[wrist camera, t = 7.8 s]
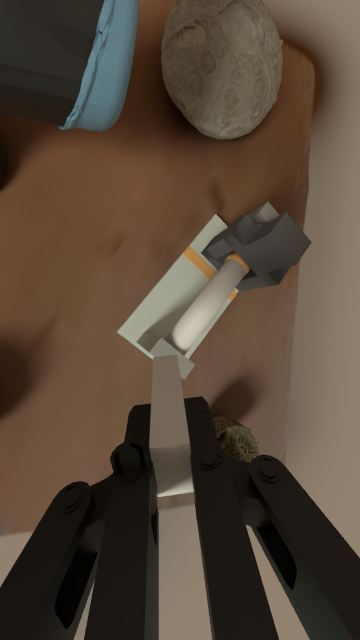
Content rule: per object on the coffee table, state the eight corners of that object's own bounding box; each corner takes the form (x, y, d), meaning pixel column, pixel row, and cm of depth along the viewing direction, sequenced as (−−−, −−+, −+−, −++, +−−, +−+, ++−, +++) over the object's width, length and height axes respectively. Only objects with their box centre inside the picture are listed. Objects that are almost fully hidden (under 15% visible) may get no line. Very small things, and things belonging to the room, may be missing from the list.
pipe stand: (172, 374, 36) (201, 398, 26) (116, 331, 33) (122, 338, 23) (255, 263, 40) (308, 245, 30) (212, 216, 38) (254, 179, 27)
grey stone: (194, 172, 37) (226, 122, 27) (130, 56, 33) (140, -48, 24) (270, 131, 41) (321, 75, 32) (221, 25, 38) (260, -73, 28)
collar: (239, 291, 34) (308, 279, 22) (200, 253, 32) (255, 217, 20) (250, 276, 34) (323, 256, 23) (213, 237, 32) (272, 195, 21)
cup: (180, 423, 37) (200, 451, 29) (216, 395, 39) (244, 415, 31) (202, 458, 38) (227, 494, 30) (236, 429, 40) (267, 456, 32)
